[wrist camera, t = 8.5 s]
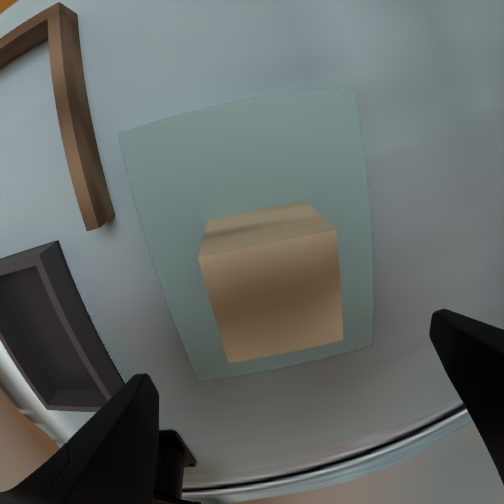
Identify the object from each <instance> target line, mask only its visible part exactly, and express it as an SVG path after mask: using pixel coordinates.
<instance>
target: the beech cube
mask: <svg viewBox="0 0 504 504" xmlns="http://www.w3.org/2000/svg"><path fill="white" fill-rule="evenodd" d="M198 261H199V264H200V268H201V271H202V275H203V279H204V282H205V286H206V289H207V293H208V296H209V300H210V303H211V306H212V310H213V313H214V317H215V320H216V323H217V327H218V330H219V333H220V336H221V340H222V343H223V346H224V349H225V352H226V355H227V359H228V362H229V363H234V362H240V361H246V360H252V359H257V358H263V357H268V356H273V355H278V354H283V353H288V352H293V351H298V350H302V349H307V348H311V347H316V346H320V345H324V344H328V343H332V342H336V341H340V340H343V320H342V299H341V283H340V268H339V256H338V244H337V234H336V229H335V228H334V227H333V226H332V225H331V224H330V223H328V222H327V221H326V220H325V219H324V218H323V217H322V216H321V215H320V214H319V213H318V212H317V211H316V210H315V209H314V208H313V207H312V206H311V205H310V204H309V203H307V202H306V201H301V202H295V203H290V204H285V205H279V206H274V207H269V208H264V209H258V210H253V211H248V212H243V213H238V214H233V215H228V216H224V217H219V218H214V219H209V220H208V221H207V225H206V228H205V232H204V236H203V239H202V243H201V247H200V250H199V254H198Z"/></svg>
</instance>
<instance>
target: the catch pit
mask: <svg viewBox="0 0 504 504" xmlns="http://www.w3.org/2000/svg"><path fill="white" fill-rule="evenodd" d="M0 340H1V342H2V344H3V345H4V347H5V349H6V350H7V352H8V354H9V355H10V357H11V359H12V360H13V362H14V363H15V365H16V367H17V368H18V370H19V371H20V373H21V374H22V376H23V377H24V379H25V380H26V382H27V383H28V385H29V386H30V387H31V389H32V390H33V392H34V393H35V394H36V396H37V397H38V399H39V400H40V401H41V403H42V404H43V405H44V406H45V408H46V409H47V410H60V411H80V412H98V411H99V410H100V409H101V408H102V407H103V406H104V405H105V404H106V403H107V402H108V401H109V400H110V399H111V398H112V397H113V396H114V395H115V394H116V393H117V392H118V391H119V390H120V389H121V388H122V387H123V386H124V385H125V383H124V382H123V380H122V378H121V376H120V375H119V373H118V371H117V369H116V368H115V366H114V364H113V362H112V360H111V359H110V357H109V355H108V353H107V351H106V349H105V347H104V345H103V343H102V342H101V340H100V338H99V336H98V334H97V332H96V330H95V328H94V326H93V323H92V321H91V319H90V317H89V315H88V313H87V311H86V309H85V306H84V304H83V302H82V300H81V297H80V295H79V293H78V290H77V288H76V286H75V283H74V281H73V278H72V276H71V273H70V271H69V268H68V266H67V263H66V261H65V258H64V255H63V253H62V250H61V247H60V244H59V241H58V240H57V241H54V242H51V243H48V244H44V245H41V246H38V247H35V248H32V249H29V250H26V251H22V252H19V253H16V254H13V255H10V256H7V257H4V258H1V259H0Z"/></svg>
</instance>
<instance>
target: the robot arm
mask: <svg viewBox="0 0 504 504" xmlns="http://www.w3.org/2000/svg"><path fill="white" fill-rule="evenodd" d="M429 334H430V339H431V341H432V343H433V345H434V347H435V350H436V352H437V354H438V356H439V358H440V360H441V362H442V365H443V367H444V369H445V371H446V373H447V375H448V377H449V379H450V380H451V382H452V384H453V386H454V387H455V389H456V391H457V392H458V394H459V396H460V398H461V400H462V401H463V403H464V405H465V407H466V408H467V410H468V412H469V414H470V416H471V418H472V420H473V421H474V423H475V425H476V427H477V429H478V431H479V433H480V435H481V437H482V439H483V441H484V443H485V445H486V447H487V449H488V451H489V453H490V455H491V457H492V459H493V461H494V464H495V466H496V468H497V470H498V473H499V475H500V477H501V480H502V482H503V484H504V330H503V329H500V328H497V327H494V326H492V325H489V324H486V323H483V322H480V321H478V320H475V319H472V318H469V317H466V316H464V315H461V314H458V313H455V312H452V311H450V310H447V309H441V310H438V311H435V312H434V313H433V314H432V319H431V326H430V333H429ZM195 466H196V460H195V459H194V458H193V456H192V455H191V453H190V452H189V450H188V449H187V447H186V446H185V444H184V443H183V441H182V440H181V438H180V437H179V435H178V434H177V433H176V432H174V431H159V394H158V391H157V389H156V387H155V385H154V383H153V382H152V380H151V378H150V376H149V375H148V374H146V373H143V374H135V375H134V376H133V377H132V378H131V379H130V380H129V381H128V382H127V383H126V384H125V385H124V386H123V387H122V388H121V389H120V390H119V391H118V392H117V393H116V394H115V395H114V396H113V397H112V398H111V399H110V400H109V401H108V402H107V403H106V404H105V405H104V406H103V407H102V408H101V409H100V410H99V411H98V412H97V413H96V414H95V415H94V416H93V417H92V418H91V419H90V420H89V421H88V422H87V423H86V424H85V425H83V426H82V427H81V428H80V429H79V430H78V431H77V432H76V433H75V434H74V435H73V436H72V437H71V438H70V439H69V440H68V443H65V444H64V445H63V446H62V447H61V448H60V449H59V450H58V451H57V452H56V453H55V454H54V455H53V456H52V457H51V458H50V459H49V460H47V461H46V462H45V463H44V464H43V465H41V466H40V467H39V468H38V469H37V470H35V471H34V472H33V473H32V474H30V475H29V476H28V477H27V478H25V479H24V480H23V481H22V482H20V483H19V484H18V485H17V486H15V487H14V488H12V489H10V490H8V491H5V492H0V504H201V502H196V501H195V502H192V501H187V500H182V499H181V496H182V484H183V472H184V467H195Z"/></svg>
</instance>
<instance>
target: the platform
mask: <svg viewBox="0 0 504 504" xmlns="http://www.w3.org/2000/svg"><path fill="white" fill-rule="evenodd" d="M118 137H119V141H120V146H121V150H122V154H123V158H124V163H125V167H126V171H127V175H128V179H129V182H130V186H131V190H132V194H133V197H134V201H135V205H136V208H137V212H138V215H139V219H140V222H141V226H142V229H143V232H144V236H145V239H146V242H147V245H148V248H149V252H150V255H151V258H152V261H153V264H154V267H155V270H156V273H157V276H158V279H159V282H160V285H161V288H162V290H163V293H164V296H165V299H166V302H167V304H168V307H169V310H170V313H171V315H172V318H173V321H174V323H175V326H176V328H177V331H178V334H179V336H180V339H181V341H182V344H183V346H184V349H185V351H186V354H187V356H188V359H189V361H190V363H191V366H192V368H193V370H194V373H195V375H196V377H197V380H198V382H200V381H207V380H215V379H221V378H228V377H234V376H241V375H247V374H252V373H258V372H263V371H269V370H274V369H279V368H284V367H289V366H293V365H298V364H302V363H307V362H311V361H315V360H320V359H324V358H328V357H332V356H336V355H340V354H343V353H347V352H351V351H355V350H358V349H362V348H365V347H369V346H372V345H373V326H374V271H373V244H372V226H371V212H370V200H369V189H368V180H367V171H366V162H365V154H364V147H363V140H362V133H361V127H360V121H359V115H358V109H357V103H356V98H355V93H354V87H349V88H335V89H324V90H314V91H305V92H296V93H289V94H281V95H274V96H268V97H262V98H256V99H250V100H245V101H239V102H234V103H229V104H224V105H219V106H215V107H210V108H206V109H202V110H197V111H193V112H189V113H185V114H181V115H177V116H174V117H170V118H166V119H163V120H159V121H156V122H152V123H149V124H146V125H142V126H139V127H136V128H133V129H130V130H127V131H124V132H121V133H118ZM301 201H306V202H307V203H309V204H310V205H311V206H312V207H313V208H314V209H315V210H316V211H317V212H318V213H319V214H320V215H321V216H322V217H323V218H324V219H325V220H326V221H327V222H328V223H330V224H331V225H332V226H333V227H334V228H335V229H336V234H337V244H338V256H339V268H340V283H341V299H342V320H343V340H340V341H336V342H332V343H328V344H324V345H320V346H316V347H311V348H307V349H302V350H298V351H293V352H288V353H283V354H278V355H273V356H268V357H263V358H257V359H252V360H246V361H240V362H234V363H229V362H228V359H227V355H226V352H225V349H224V346H223V343H222V340H221V336H220V333H219V330H218V327H217V323H216V320H215V317H214V313H213V310H212V306H211V303H210V300H209V296H208V293H207V289H206V286H205V282H204V279H203V275H202V271H201V268H200V264H199V261H198V254H199V250H200V247H201V243H202V239H203V236H204V232H205V228H206V225H207V221H208V220H209V219H214V218H219V217H224V216H228V215H233V214H238V213H243V212H248V211H253V210H258V209H264V208H269V207H274V206H279V205H285V204H290V203H295V202H301Z"/></svg>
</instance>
